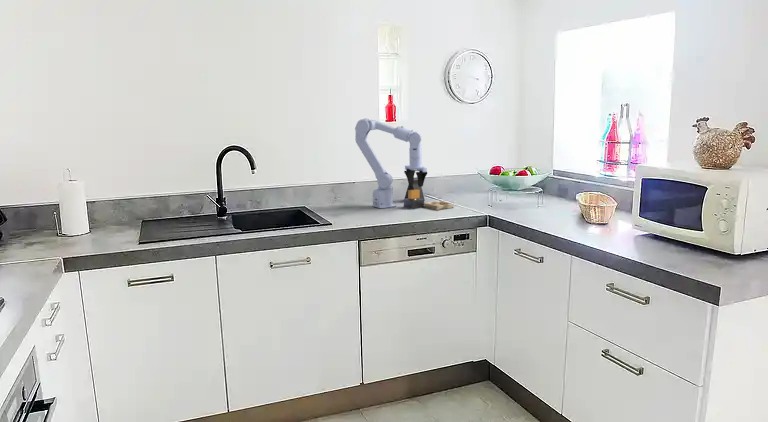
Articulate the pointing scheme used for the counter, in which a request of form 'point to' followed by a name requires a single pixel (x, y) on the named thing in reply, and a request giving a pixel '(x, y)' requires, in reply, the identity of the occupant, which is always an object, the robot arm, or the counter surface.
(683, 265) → the counter surface
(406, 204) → the chuck block
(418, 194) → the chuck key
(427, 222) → the counter surface
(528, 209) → the counter surface
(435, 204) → the key tray
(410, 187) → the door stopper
